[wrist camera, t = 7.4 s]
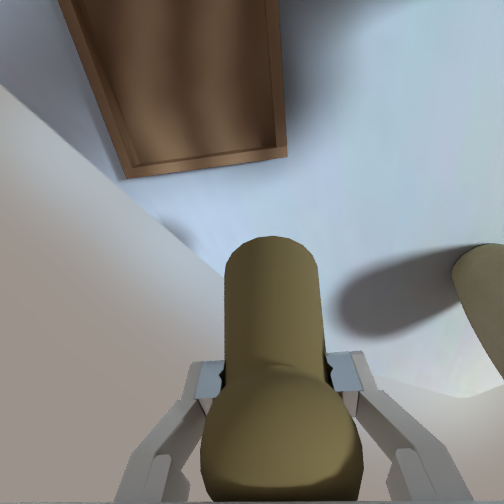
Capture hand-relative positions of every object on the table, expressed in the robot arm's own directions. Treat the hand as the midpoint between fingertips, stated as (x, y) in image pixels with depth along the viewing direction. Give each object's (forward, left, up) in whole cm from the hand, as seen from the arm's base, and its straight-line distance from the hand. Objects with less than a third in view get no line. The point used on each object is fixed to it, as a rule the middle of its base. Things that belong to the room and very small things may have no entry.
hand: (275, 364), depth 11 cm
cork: (0, 0, -7) cm, 7 cm away
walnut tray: (+6, -13, -23) cm, 27 cm away
